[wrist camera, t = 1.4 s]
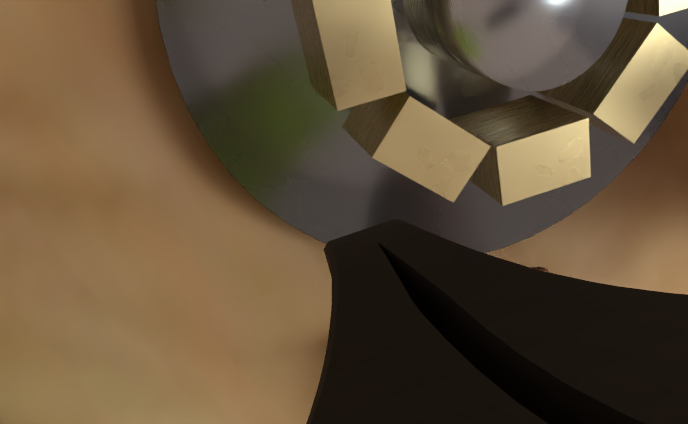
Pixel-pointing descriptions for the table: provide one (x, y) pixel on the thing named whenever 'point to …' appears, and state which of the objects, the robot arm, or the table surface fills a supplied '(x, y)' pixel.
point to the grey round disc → (421, 84)
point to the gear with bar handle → (491, 123)
